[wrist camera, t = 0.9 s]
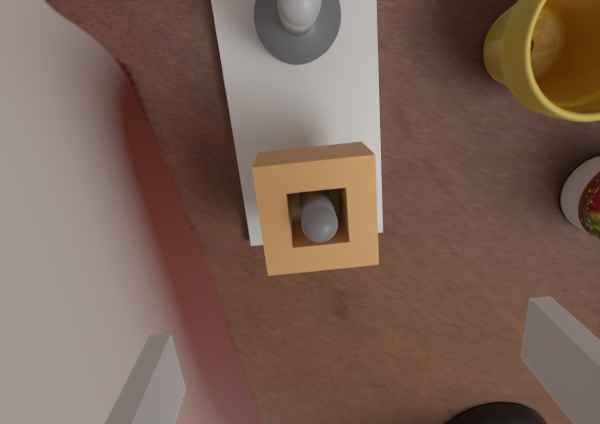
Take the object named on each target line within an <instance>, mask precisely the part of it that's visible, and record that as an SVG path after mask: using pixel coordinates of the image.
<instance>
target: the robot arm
mask: <svg viewBox="0 0 600 424" xmlns="http://www.w3.org/2000/svg"><path fill="white" fill-rule="evenodd" d="M520 358H521V359H522V361H523V362H524V363H525V364H526V366H527V367H528V368H529V369H530V371H531V372H532V373H533V374H534V376H535V377H536V378H537V380H538V381H539V382H540V383H541V385H542V386H543V387H544V388H545V390H546V391H547V392H548V393H549V395H550V396H551V397H552V398H553V400H554V401H555V402H556V404H557V405H558V406H559V407H560V409H561V410H562V411H563V412H564V414H565V415H566V416H567V417H568V419H569V420H570V421H571V422H572V424H600V340H599V339H598V338H597V337H596V336H595V335H594V334H593V333H591V332H590V331H589V330H588V329H587V328H586V327H585V326H584V325H582V324H581V323H580V322H579V321H578V320H577V319H576V318H574V317H573V316H572V315H571V314H570V313H569V312H568V311H567V310H565V309H564V308H563V307H562V306H561V305H560V304H559V303H558V302H556V301H555V300H554V299H553V298H552V297H551V296H547V297H536V298H529V303H528V310H527V316H526V323H525V329H524V336H523V342H522V349H521V355H520ZM185 393H186V387H185V383H184V380H183V376H182V372H181V368H180V365H179V361H178V357H177V354H176V351H175V346H174V343H173V340H172V336H171V333H167V334H158V335H150V337H149V338H148V341H147V342H146V344H145V346H144V348H143V350H142V352H141V354H140V356H139V358H138V360H137V362H136V364H135V366H134V368H133V370H132V372H131V374H130V376H129V378H128V380H127V382H126V384H125V385H124V387H123V390H122V391H121V393H120V396H119V397H118V400H117V401H116V403H115V405H114V407H113V409H112V411H111V413H110V415H109V417H108V419H107V421H106V423H105V424H176V421H177V418H178V415H179V412H180V409H181V405H182V402H183V399H184V396H185ZM449 424H547V423H546V421H545V420H544V418H543V417H542V416H541V415H540V414H538V413H537V412H536V411H534V410H532V409H530V408H528V407H525V406H522V405H518V404H511V403H495V404H489V405H484V406H480V407H477V408H474V409H471V410H469V411H467V412H465V413H463V414H461V415H460V416H458V417H456V418H455V419H454V420H452V421H451V422H450V423H449Z"/></svg>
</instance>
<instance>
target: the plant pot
mask: <svg viewBox="0 0 600 424" xmlns="http://www.w3.org/2000/svg"><path fill="white" fill-rule="evenodd" d="M483 59H484V64H485V67H486V69H487V71H488V73H489V74H490V76H491V77H492V78H493V79H494V80H495V81H496V82H498V83H500V84H502V85H503V86H505V87H507V88H509V90H510V91H511V93H512V94H513V95H514V97H515V98H516V99H517V100H518V101H519V102H520V103H521V104H523V105H524V106H525V107H527V108H528V109H530V110H532V111H534V112H537V113H540V114H543V115H546V116H550V117H554V118H559V119H565V120H571V121H579V122H589V121H598V120H600V0H518V1H517V3H516V4H514V5H513V6H512V7H510V8H509V9H508V10H506V11H505V12H504V13H503V14H502V15H501V16H499V17H498V18H497V20H496V21H495V22H494V23H493V25H492V26H491V28H490V30H489V32H488V34H487V36H486V39H485V43H484V48H483Z"/></svg>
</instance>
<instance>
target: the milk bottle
mask: <svg viewBox="0 0 600 424" xmlns="http://www.w3.org/2000/svg"><path fill="white" fill-rule="evenodd" d="M560 198H561V207H562V211H563V213H564V215H565V217H566V218H567V219H568V221H569V222H571V223H572V224H573V225H575V226H577V227H578V228H580V229H582V230H584V231H585V232H587V233H589V234H591V235H593V236H595V237H597V238H598V239H600V156H598V157H594V158H592V159H590V160H587V161H586V162H584V163H583V164H581V165H580V166H579V167H578V168H576V169H575V170H574V171H573V172H572V174H571V175H570V176H569V177H568V179H567V180H566V182H565V184H564V186H563V189H562V192H561V197H560Z"/></svg>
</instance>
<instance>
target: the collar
mask: <svg viewBox="0 0 600 424" xmlns="http://www.w3.org/2000/svg"><path fill="white" fill-rule="evenodd" d="M252 172H253V179H254V186H255V192H256V199H257V205H258V212H259V219H260V225H261V232H262V239H263V245H264V252H265V259H266V265H267V272H268V276H272V275H281V274H291V273H301V272H311V271H321V270H330V269H340V268H350V267H360V266H370V265H379V252H378V222H377V192H376V162H375V154H374V153H373V152H372V151H371V150H370V149H369V148H368V147H367V146H366V145H365V144H364V143H363V142H362V141H361V142H352V143H342V144H333V145H323V146H314V147H305V148H295V149H286V150H276V151H267V152H258V154H257V156H256V159H255V161H254V164H253V166H252ZM337 188H339V201H340V215H341V217H337V220H338V229H337V232H336V233H335V235H334V236H333V237H332V238H331V239H330V240H328V241H326V242H314V241H312V240H310V239H308V238H307V237H306V236H305V234H304V232H303V230H302V225H301V221H294V222H292V214H291V206H290V197H289V193H299V192H308V191H318V190H327V189H337Z"/></svg>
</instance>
